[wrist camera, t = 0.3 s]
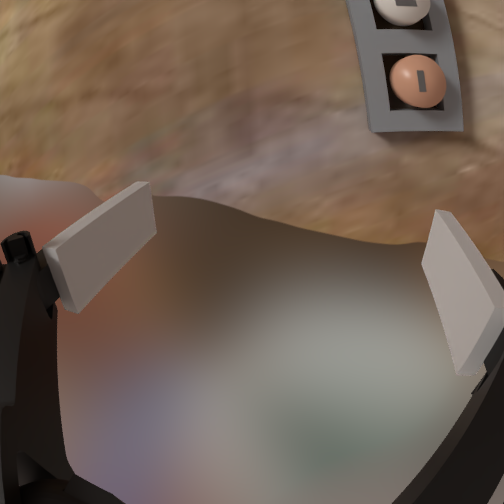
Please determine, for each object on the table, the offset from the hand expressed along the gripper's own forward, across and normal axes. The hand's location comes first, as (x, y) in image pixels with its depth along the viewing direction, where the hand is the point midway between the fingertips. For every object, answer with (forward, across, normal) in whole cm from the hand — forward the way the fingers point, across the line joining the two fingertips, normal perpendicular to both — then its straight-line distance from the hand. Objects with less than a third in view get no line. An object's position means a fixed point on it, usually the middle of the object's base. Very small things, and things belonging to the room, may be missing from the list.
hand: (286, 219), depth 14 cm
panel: (+28, +10, +18) cm, 35 cm away
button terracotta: (+26, +12, +8) cm, 29 cm away
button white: (+26, +10, +18) cm, 33 cm away
